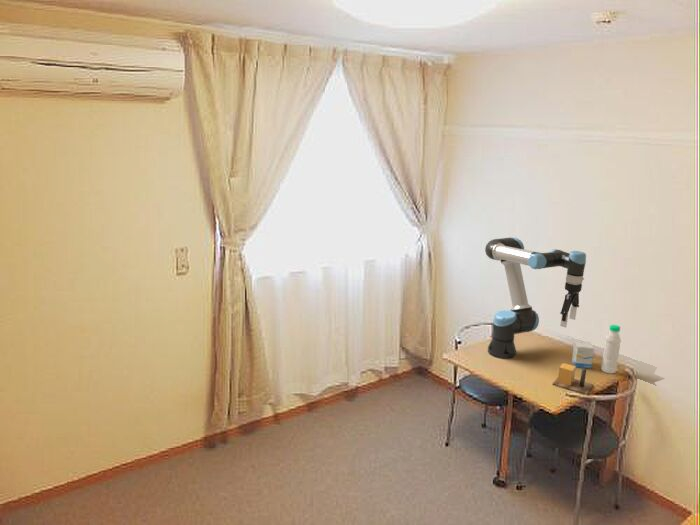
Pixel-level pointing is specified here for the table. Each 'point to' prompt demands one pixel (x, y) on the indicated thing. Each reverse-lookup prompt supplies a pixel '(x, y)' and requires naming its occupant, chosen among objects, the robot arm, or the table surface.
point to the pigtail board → (577, 384)
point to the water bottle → (611, 350)
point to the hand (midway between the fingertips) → (567, 322)
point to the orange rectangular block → (566, 374)
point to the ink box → (582, 354)
